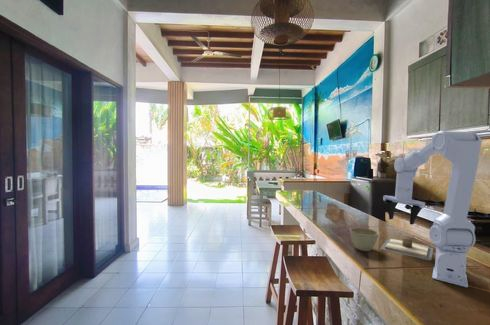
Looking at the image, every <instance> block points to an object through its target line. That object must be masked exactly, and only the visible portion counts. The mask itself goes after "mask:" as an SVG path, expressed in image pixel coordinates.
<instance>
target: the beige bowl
mask: <svg viewBox="0 0 490 325" xmlns="http://www.w3.org/2000/svg"><path fill="white" fill-rule="evenodd" d="M349 233H350V238H351V241H352V244H353V245H354V247H355V248H356V250H359V251H363V252H371V251H372V249H373V248H375V245H376V243H377V241H378V238H379V232H378V231H376V230H373V229H369V228H365V227H352V228H350V229H349Z"/></svg>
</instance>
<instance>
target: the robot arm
mask: <svg viewBox="0 0 490 325" xmlns="http://www.w3.org/2000/svg"><path fill="white" fill-rule="evenodd" d="M482 142H483V140H482V138H481V137H480V136H479V135H478V134H477V133H476V132H475V131H453V130H452V131H448V130H447V131H446V130H439V131H437V132H436V133H434V134H433V135H432V137H431V140H430V142H428V143H427V144H425V146H423V147H422V148H414V149H413V150H412V151H411V152H410V153H408V154H406V155H405V156H404V157H397V158H396V159H395V160H394V165H393V168H394V171H395V172H396V181H395V193H394V195H387V194H385V195H383V197H382V201H384V202H383V204H384V205H385V208H386V210H387V213H388V219H389V220H392V219H394V218H395V217H394V216H395V215H394V214H395V208H396V207H395V206H396V204H397V203H398V204H402V205H406V206H407V205H408V206H410V209H409V211H410V216H409V217H410V218H409V225H414V224H415V221H416V219H417V217H418V215H419V213H420V212H421V210H422V209H424V208H425V207H426V202H425V201H420V200H415V199H412V198H413V188H414V187H413V186H414V178H415V177H416V175H417V172H418V169H419V167H421V166H423V165H425V164H426V163H427V162H428V161H429V158H430V157H432V156H434V155H435V154H440V155H441V156H442V157H443V158H445V159H447V160H449V161H450V162H451V164H452V167H451V171H450V172H451V173H450V177H449V180H448V181H449V182H448V188H447V193H446V198H445V203H444V208H443V214H441V215H440V216H438V217H436V218H434V219H433V223H432V225H431V227H430V229H429V233H428V234H429V239H430V241H431V243H433V245H434V246H435V262H434V263H435V264H434V266H433V270H432V276H431V278H432V279H434V280H437V281H440V282H445V283H449V284H452V285H456V286H458V287H459V286H460V287H464V288H468V287H469V284H468V276H467V273H466V272H467V271H466V270H467V254H468V251H470V249H471V248H472V247H473V246H474V245H475V244H476V234H475V231H476V225H474V224H473V222H471V221H470V220H468V214H469V209H470V204H471V200H472V194H473V191H474V190H473V189H474V186H475V185H474V184H475V181H476V176H477V171H478V167H479V166H478V165H479V160H480V158H479V156H480V151H481V147H482Z"/></svg>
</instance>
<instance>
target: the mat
mask: <svg viewBox="0 0 490 325" xmlns="http://www.w3.org/2000/svg"><path fill="white" fill-rule="evenodd" d="M391 239H392V238H387V239H386V240H385V241H384V243H383V244H382V246H381V247H380V248H379V249H380V250H382V251H383V250H384V251H387V252H391V253H392V252H393V253H396V254H401V255H405V256H409V257H414V258H418V259H422V260H427V261H432V258H433V254H434V253H433V252H434V247H430V246H429V249H428V253H427V257H426V258H424V257H419V256H415V255H410V254H406V253H402V252H397V251H393V250H388V249H385V246H386V245H387V243H388V242H389V241H390V240H391Z"/></svg>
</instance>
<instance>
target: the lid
mask: <svg viewBox="0 0 490 325" xmlns="http://www.w3.org/2000/svg"><path fill="white" fill-rule="evenodd" d="M390 239H391V240H390V241H389V242H388V243H387V245H386V246H385V249H388V250H393V251H397V252H402V253H406V254H410V255H415V256H419V257H424V258H426V257H427V253H428V249H429V247H430V246H429V245H425V244H419V243H415V242H413V238H410V237H406V236H405V237H402V240H400V239H395V238H390Z"/></svg>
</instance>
